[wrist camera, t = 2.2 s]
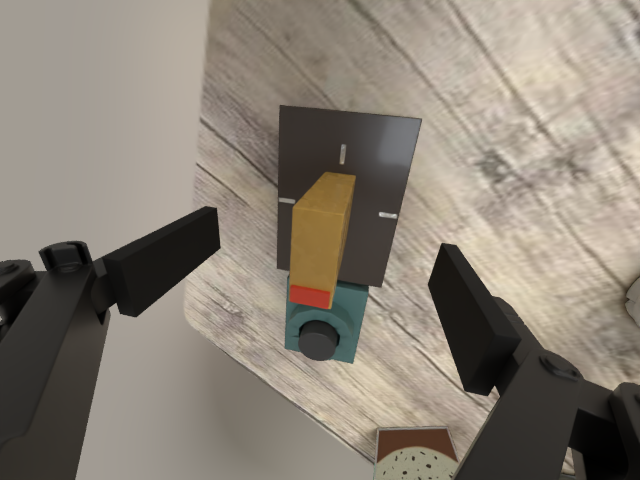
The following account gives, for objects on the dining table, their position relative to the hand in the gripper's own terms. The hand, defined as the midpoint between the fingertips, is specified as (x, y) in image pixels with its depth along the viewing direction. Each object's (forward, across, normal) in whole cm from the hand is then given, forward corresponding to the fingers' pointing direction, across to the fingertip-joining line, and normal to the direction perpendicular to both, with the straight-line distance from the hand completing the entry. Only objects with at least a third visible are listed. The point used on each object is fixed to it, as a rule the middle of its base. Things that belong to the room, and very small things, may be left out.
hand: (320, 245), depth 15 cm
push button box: (+9, 0, -13) cm, 16 cm away
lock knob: (+7, 0, 0) cm, 7 cm away
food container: (+10, +15, -33) cm, 37 cm away
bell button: (+6, 0, -13) cm, 14 cm away
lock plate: (+9, 0, 0) cm, 9 cm away
